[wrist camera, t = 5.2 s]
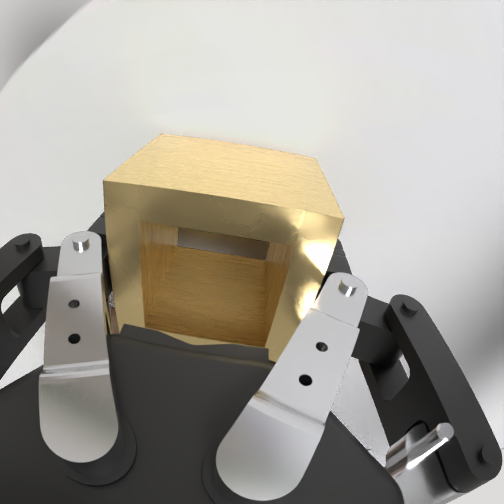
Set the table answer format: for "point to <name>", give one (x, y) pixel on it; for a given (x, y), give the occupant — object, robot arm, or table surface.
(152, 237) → the brass collar
